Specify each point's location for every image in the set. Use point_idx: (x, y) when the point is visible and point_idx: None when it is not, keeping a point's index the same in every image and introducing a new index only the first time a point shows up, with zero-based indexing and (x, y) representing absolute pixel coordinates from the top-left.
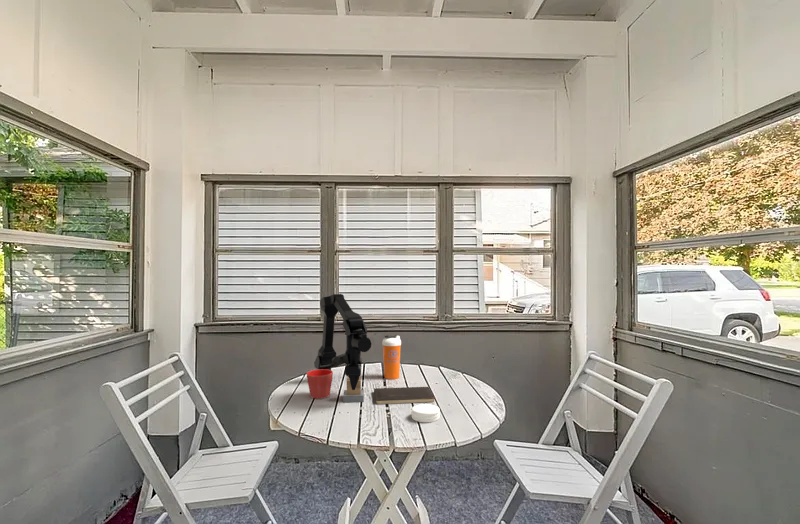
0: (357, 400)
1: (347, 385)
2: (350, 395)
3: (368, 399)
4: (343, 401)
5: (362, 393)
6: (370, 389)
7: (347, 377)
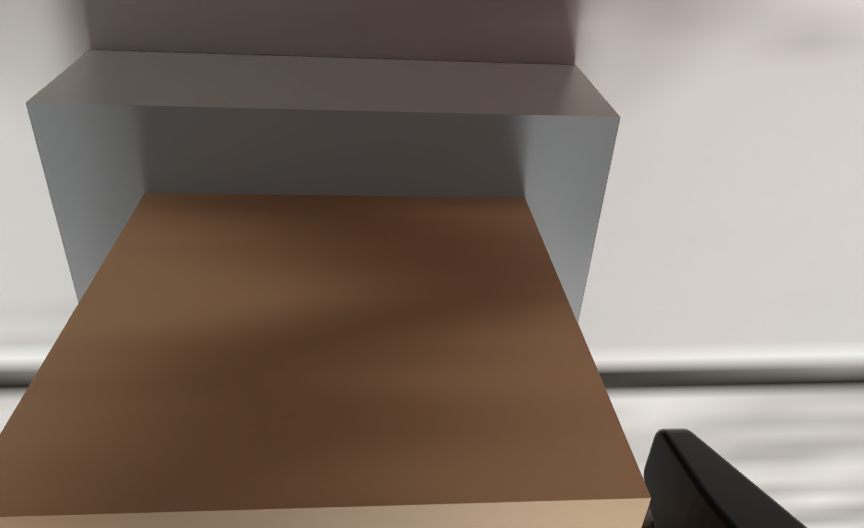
0: None
1: (45, 392)
2: None
3: None
4: (84, 63)
5: None
6: (820, 478)
7: (613, 508)
